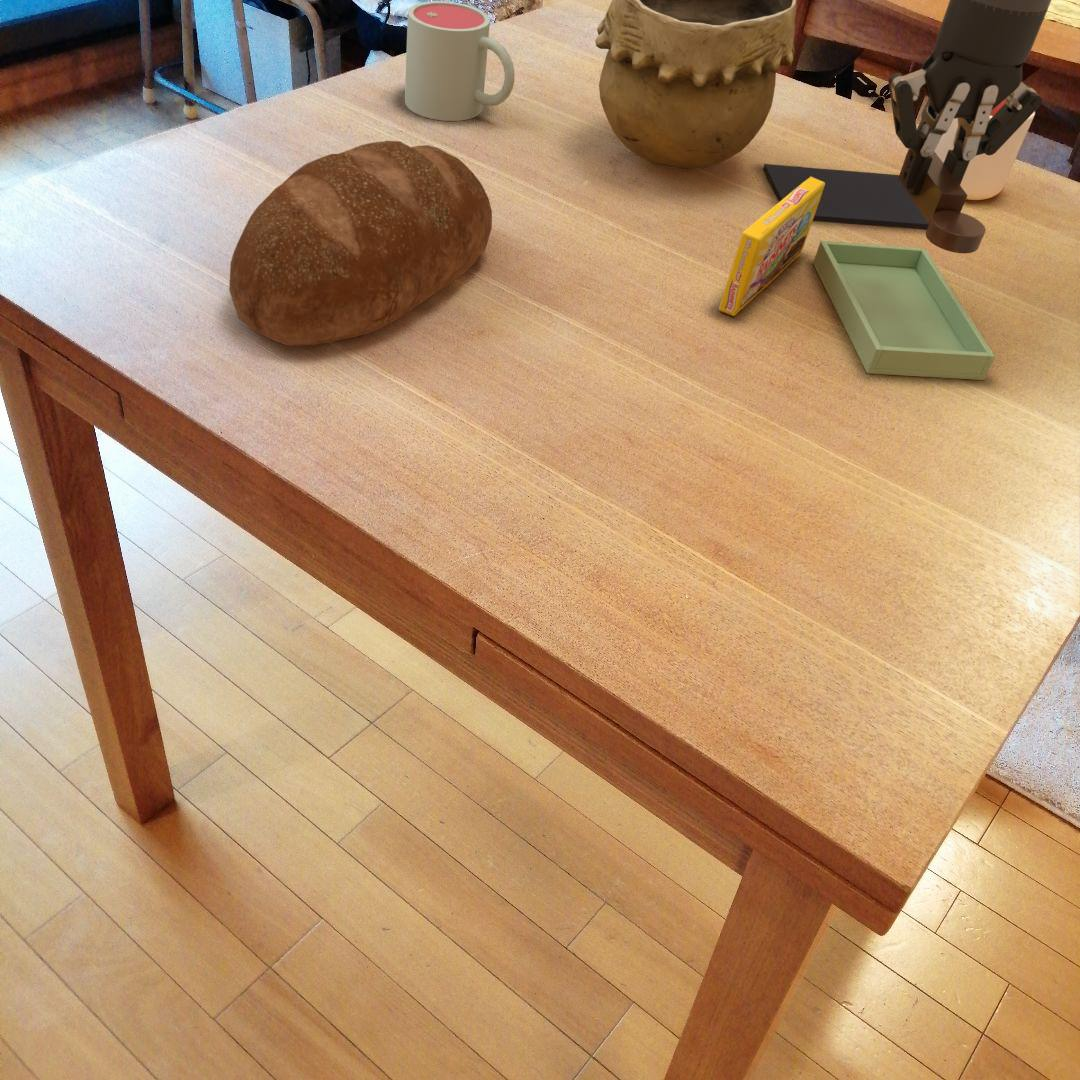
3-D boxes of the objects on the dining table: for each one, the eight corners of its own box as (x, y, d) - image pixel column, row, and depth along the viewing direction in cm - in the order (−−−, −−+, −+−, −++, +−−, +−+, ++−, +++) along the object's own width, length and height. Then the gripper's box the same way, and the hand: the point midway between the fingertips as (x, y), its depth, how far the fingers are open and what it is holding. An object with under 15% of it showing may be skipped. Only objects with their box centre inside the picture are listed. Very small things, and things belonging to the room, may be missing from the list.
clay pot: (723, 224, 115) (773, 27, 101) (547, 162, 121) (572, -32, 107) (786, 159, 129) (837, -22, 116) (625, 106, 135) (656, -72, 121)
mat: (909, 180, 129) (911, 175, 128) (943, 230, 120) (945, 225, 120) (762, 168, 126) (764, 163, 126) (787, 218, 118) (788, 213, 117)
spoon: (932, 181, 103) (944, 150, 101) (986, 255, 93) (1000, 223, 91) (886, 177, 102) (897, 146, 100) (935, 251, 93) (948, 219, 91)
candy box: (737, 320, 101) (759, 239, 96) (716, 311, 102) (738, 230, 96) (803, 256, 112) (827, 180, 106) (784, 249, 113) (807, 173, 107)
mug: (388, 103, 127) (391, 13, 120) (435, 82, 133) (439, -5, 127) (486, 141, 123) (494, 50, 116) (529, 117, 129) (539, 29, 122)
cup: (1016, 196, 129) (1053, 112, 122) (962, 210, 125) (998, 125, 118) (951, 160, 135) (983, 78, 128) (898, 173, 130) (928, 89, 123)
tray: (916, 270, 113) (925, 248, 111) (984, 380, 99) (995, 356, 97) (812, 263, 111) (820, 240, 109) (867, 373, 97) (876, 349, 96)
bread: (187, 312, 92) (172, 185, 84) (397, 195, 111) (401, 83, 103) (334, 384, 87) (332, 257, 79) (526, 249, 106) (540, 136, 99)
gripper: (937, -1, 84) (865, 207, 96) (1103, 15, 86) (1013, 218, 98) (906, -33, 89) (842, 168, 101) (1064, -16, 91) (982, 179, 103)
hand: (926, 192), depth 99 cm, fingers closed on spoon, 2 cm apart
